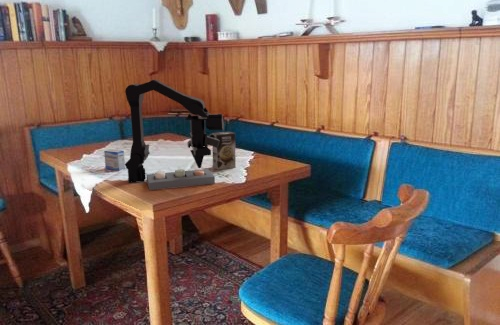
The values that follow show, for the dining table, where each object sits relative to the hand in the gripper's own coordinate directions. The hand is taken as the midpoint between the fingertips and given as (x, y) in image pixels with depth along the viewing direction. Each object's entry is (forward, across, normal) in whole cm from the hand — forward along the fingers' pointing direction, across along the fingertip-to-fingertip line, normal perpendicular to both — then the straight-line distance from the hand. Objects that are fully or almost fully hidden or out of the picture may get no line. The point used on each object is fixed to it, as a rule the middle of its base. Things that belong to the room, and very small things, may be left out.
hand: (199, 167), depth 176 cm
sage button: (+3, 0, +8) cm, 9 cm away
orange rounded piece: (+5, 0, 0) cm, 5 cm away
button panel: (+6, 0, +8) cm, 10 cm away
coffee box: (+6, +17, -15) cm, 23 cm away
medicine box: (+6, +31, +33) cm, 46 cm away
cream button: (+3, 0, +16) cm, 16 cm away
